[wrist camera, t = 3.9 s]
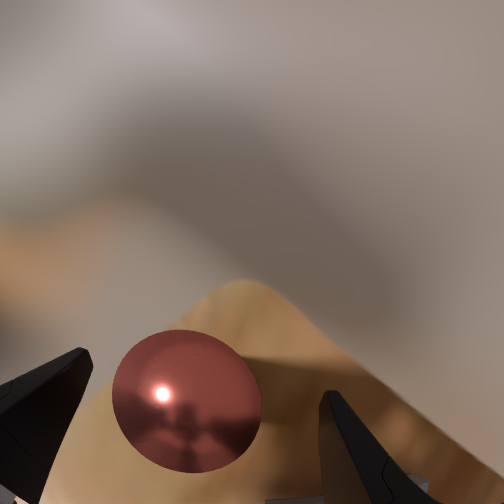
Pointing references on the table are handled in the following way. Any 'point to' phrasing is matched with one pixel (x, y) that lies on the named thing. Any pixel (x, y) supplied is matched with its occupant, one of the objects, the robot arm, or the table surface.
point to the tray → (318, 501)
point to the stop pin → (186, 401)
